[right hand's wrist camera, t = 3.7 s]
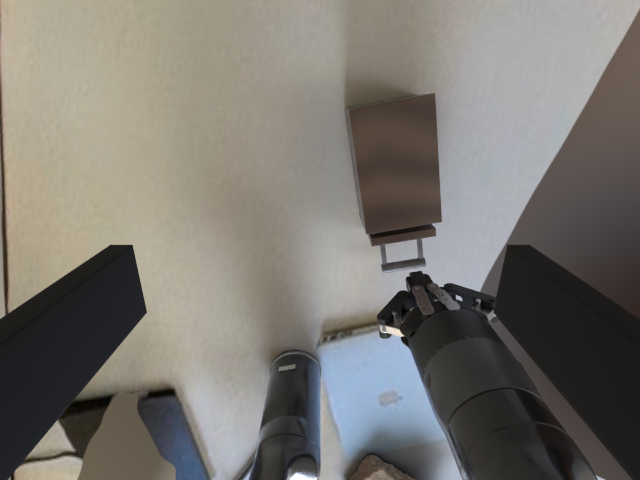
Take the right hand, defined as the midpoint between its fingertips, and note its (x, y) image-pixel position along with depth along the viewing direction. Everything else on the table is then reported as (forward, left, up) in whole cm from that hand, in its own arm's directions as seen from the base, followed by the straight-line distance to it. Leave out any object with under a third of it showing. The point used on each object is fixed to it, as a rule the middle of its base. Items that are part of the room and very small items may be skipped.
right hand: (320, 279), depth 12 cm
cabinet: (-3, +10, -41) cm, 42 cm away
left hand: (+8, +17, -28) cm, 34 cm away
